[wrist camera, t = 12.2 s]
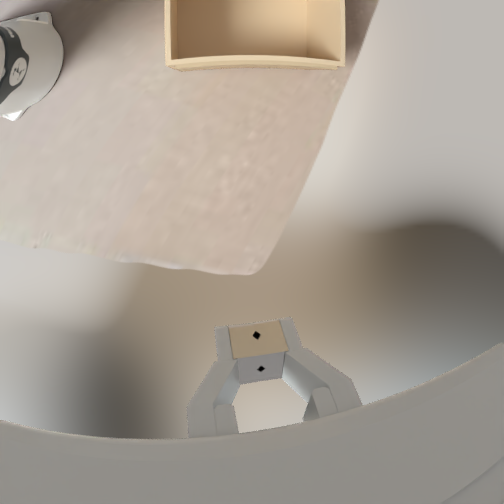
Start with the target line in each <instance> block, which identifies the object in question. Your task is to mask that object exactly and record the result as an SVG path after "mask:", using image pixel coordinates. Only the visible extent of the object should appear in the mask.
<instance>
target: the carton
mask: <svg viewBox="0 0 504 504" xmlns="http://www.w3.org/2000/svg"><path fill="white" fill-rule="evenodd" d="M164 21H165V60H166V66H167V67H170V68H172V69H177V70H179V71H181V72H183V71H193V70H205V69H222V68H287V69H304V70H337V67H345V0H164Z"/></svg>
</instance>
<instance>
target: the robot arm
mask: <svg viewBox="0 0 504 504" xmlns="http://www.w3.org/2000/svg"><path fill="white" fill-rule="evenodd" d="M37 18H39V19H38V21H37ZM62 62H63V44H62V40H61V38H60V36H59V34H58V33H57V31H56V30H55V29H54V27H53V25H52V18H51V14H50V13H49V12H40V13H35V14H30V15H26V16H22V17H18V18H14V19H10V20H7V21H3V22H0V116H3V117H5V118H7V119H9V120H12V121H13V120H17V119H19V118H20V117H21V116H22V114H23V113H24V112H25V110H26V109H27V108H28V107H30V106H31V105H33V104H35V103H37V102H38V101H39V100H41V99H42V98H43V97H44V96H45V95H46V94H47V93H48V92H49V91H50V89H51V88H52V86H53V85H54V83H55V82H56V80H57V78H58V75H59V73H60V70H61V66H62ZM215 339H216V348H217V356H218V361H217V362H214V363H213V365H212V367H211V368H210V370H209V371H208V373H207V375H206V377H205V378H204V380H203V381H202V383H201V385H200V386H199V388H198V390H197V391H196V393H195V394H194V396H193V398H192V399H191V401H190V402H189V404H188V406H187V418H188V433H189V438H184V439H183V438H182V439H122V438H105V437H94V436H84V435H75V434H68V433H61V432H55V431H49V430H43V429H38V428H33V427H29V426H24V425H20V424H15V423H12V422H8V421H4V420H0V504H504V342H503V343H499V344H497V345H496V346H494V347H493V348H491V349H489V350H487V351H486V352H484V353H482V354H480V355H479V356H477V357H475V358H474V359H471V360H470V361H468V362H466V363H464V364H462V365H460V366H458V367H456V368H454V369H452V370H450V371H448V372H446V373H444V374H442V375H440V376H437V377H435V378H433V379H431V380H429V381H426V382H424V383H422V384H420V385H418V386H415V387H412V388H410V389H407V390H405V391H403V392H400V393H397V394H395V395H392V396H389V397H387V398H384V399H381V400H378V401H375V402H372V403H369V404H367V405H362V403H361V400H360V398H359V396H358V393H357V391H356V389H355V386H354V384H353V382H352V380H351V379H350V378H349V377H348V376H346V375H345V374H343V373H342V372H340V371H339V370H337V369H336V368H334V367H333V366H332V365H330V364H329V363H327V362H326V361H325V360H323V359H322V358H320V357H319V356H318V355H316V354H315V353H313V352H312V351H310V350H309V349H308V348H303V346H302V344H301V341H300V338H299V335H298V333H297V330H296V328H295V325H294V322H293V319H292V318H291V317H287V318H281V319H273V320H267V321H260V322H253V323H248V324H239V325H228V326H219V327H215ZM278 378H282V379H283V380H284V381H285V382H286V383H287V384H288V385H289V386H290V387H291V388H292V389H293V390H294V391H295V392H296V393H297V394H298V395H300V396H301V397H302V398H303V399H304V400H305V401H306V402H307V403H308V405H307V408H306V411H305V414H304V416H303V422H301V423H297V424H292V425H287V426H282V427H277V428H271V429H265V430H259V431H253V432H246V433H239V432H238V426H237V421H236V416H235V410H234V406H232V405H231V404H232V402H233V400H234V398H235V396H236V393H237V391H238V389H239V387H240V384H246V383H252V382H258V381H264V380H271V379H278Z"/></svg>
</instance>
